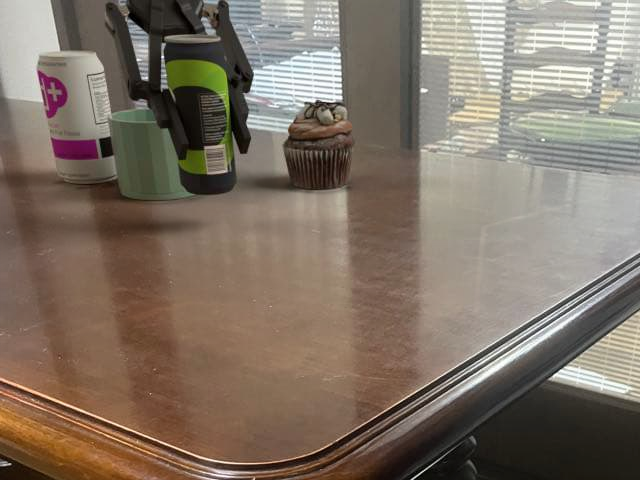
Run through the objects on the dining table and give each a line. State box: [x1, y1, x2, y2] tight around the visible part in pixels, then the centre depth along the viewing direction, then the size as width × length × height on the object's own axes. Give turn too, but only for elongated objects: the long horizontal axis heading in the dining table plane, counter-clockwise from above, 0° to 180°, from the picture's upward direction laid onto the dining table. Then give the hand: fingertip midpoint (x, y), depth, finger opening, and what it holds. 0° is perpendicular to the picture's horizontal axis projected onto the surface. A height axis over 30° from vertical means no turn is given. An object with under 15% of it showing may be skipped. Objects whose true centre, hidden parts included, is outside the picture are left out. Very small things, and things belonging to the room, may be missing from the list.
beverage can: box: [162, 34, 238, 196], centre depth 94 cm, size 6×6×15 cm
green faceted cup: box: [107, 107, 197, 201], centre depth 112 cm, size 11×11×9 cm
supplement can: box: [36, 50, 118, 185], centre depth 116 cm, size 8×8×15 cm
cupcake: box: [281, 99, 356, 190], centre depth 116 cm, size 10×10×10 cm
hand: (215, 148), depth 93 cm, fingers closed on beverage can, 6 cm apart
